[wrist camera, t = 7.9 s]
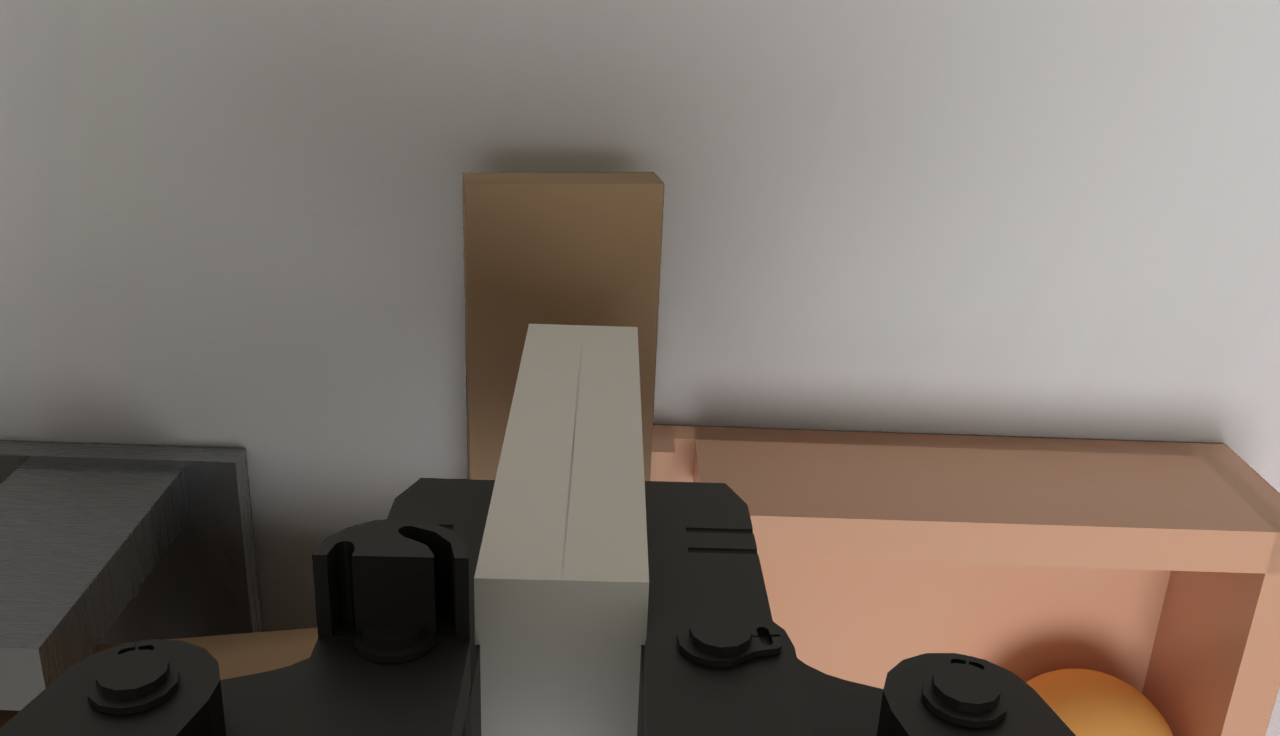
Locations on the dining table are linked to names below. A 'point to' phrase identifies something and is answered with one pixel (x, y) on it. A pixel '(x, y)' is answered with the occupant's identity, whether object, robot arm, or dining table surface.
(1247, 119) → the dining table surface
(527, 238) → the lever
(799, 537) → the dish
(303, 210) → the dining table surface
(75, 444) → the stand
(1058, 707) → the ball
